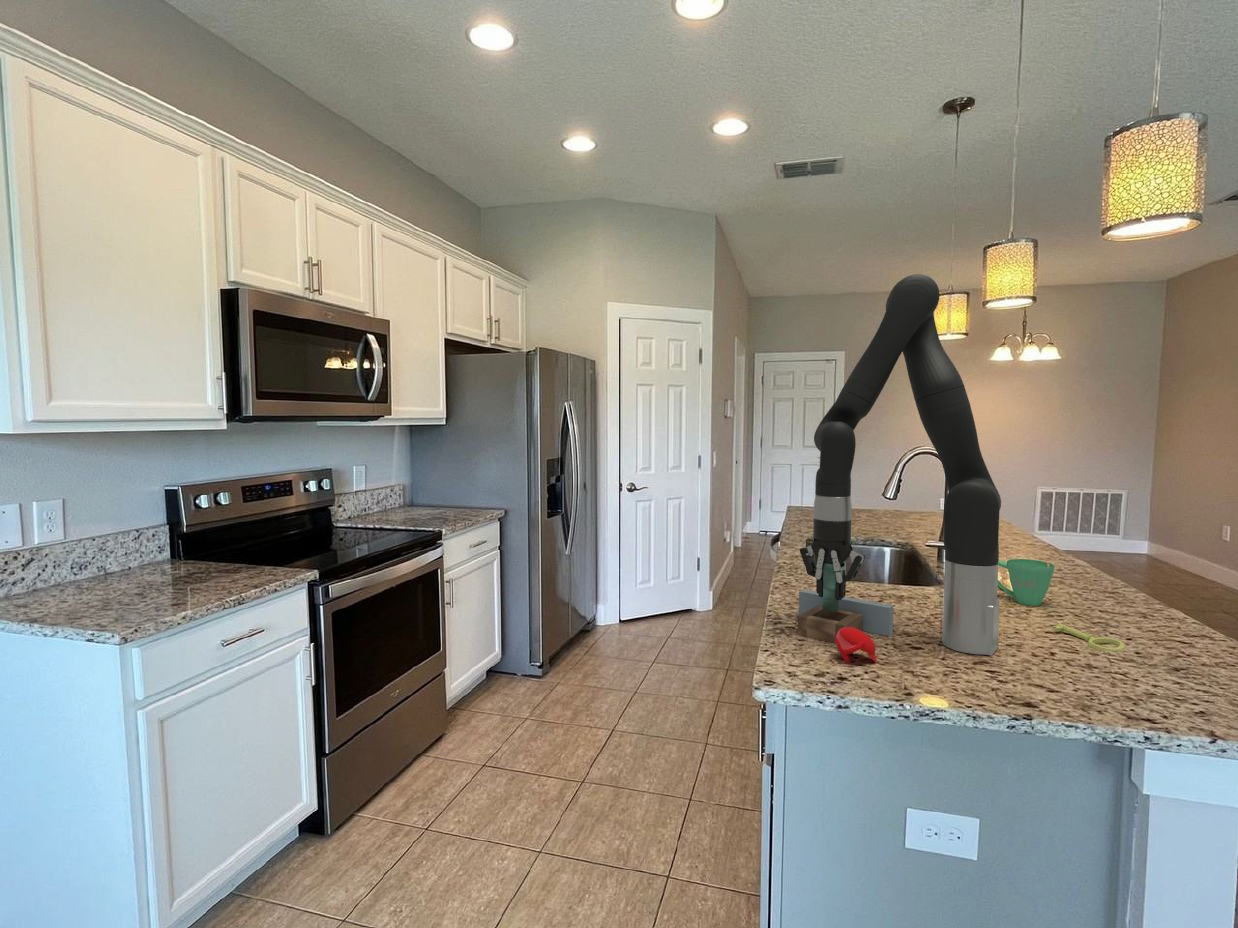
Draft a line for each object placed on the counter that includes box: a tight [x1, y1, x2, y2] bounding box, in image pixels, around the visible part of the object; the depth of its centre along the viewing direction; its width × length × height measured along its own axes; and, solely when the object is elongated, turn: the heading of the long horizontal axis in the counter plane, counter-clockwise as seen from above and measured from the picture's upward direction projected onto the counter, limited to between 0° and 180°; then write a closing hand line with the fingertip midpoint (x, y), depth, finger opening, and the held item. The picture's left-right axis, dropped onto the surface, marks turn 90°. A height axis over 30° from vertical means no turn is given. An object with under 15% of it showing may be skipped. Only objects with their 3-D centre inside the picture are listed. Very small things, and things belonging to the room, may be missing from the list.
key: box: [1052, 623, 1126, 652], centre depth 126 cm, size 7×12×2 cm, turn 37°
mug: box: [997, 558, 1056, 607], centre depth 155 cm, size 15×10×10 cm
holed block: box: [797, 605, 864, 644], centre depth 131 cm, size 10×10×4 cm
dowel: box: [822, 563, 839, 612], centre depth 131 cm, size 3×3×10 cm
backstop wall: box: [798, 589, 894, 637], centre depth 137 cm, size 20×2×6 cm, turn 49°
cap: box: [835, 627, 878, 664], centre depth 117 cm, size 8×6×6 cm
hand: (830, 597), depth 131 cm, fingers closed on dowel, 3 cm apart
